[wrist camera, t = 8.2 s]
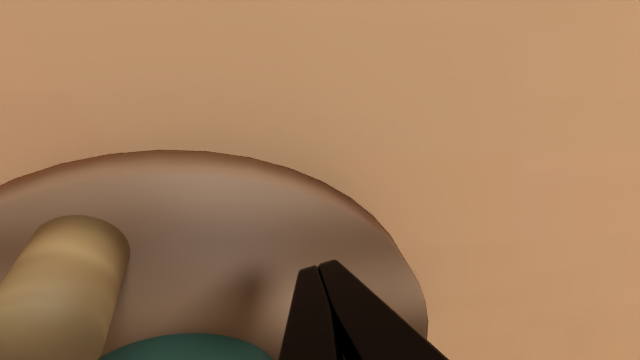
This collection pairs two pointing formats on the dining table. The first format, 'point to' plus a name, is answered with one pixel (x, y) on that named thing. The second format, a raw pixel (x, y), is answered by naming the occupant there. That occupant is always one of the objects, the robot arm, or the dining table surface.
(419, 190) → the dining table surface
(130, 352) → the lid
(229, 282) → the disc
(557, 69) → the dining table surface
